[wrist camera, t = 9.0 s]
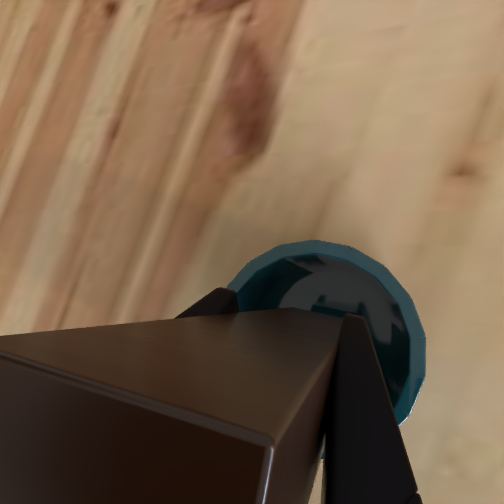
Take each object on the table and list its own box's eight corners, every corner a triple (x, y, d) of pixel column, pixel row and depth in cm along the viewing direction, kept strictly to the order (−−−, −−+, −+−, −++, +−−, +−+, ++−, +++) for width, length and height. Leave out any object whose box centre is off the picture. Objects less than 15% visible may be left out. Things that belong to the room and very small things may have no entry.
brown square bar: (342, 384, 14) (186, 935, 2) (279, 368, 15) (-133, 693, 3) (353, 319, 14) (276, 441, 2) (290, 306, 15) (-48, 337, 3)
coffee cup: (423, 412, 17) (447, 458, 12) (256, 419, 19) (220, 460, 14) (394, 244, 18) (405, 224, 13) (240, 266, 20) (200, 257, 15)
